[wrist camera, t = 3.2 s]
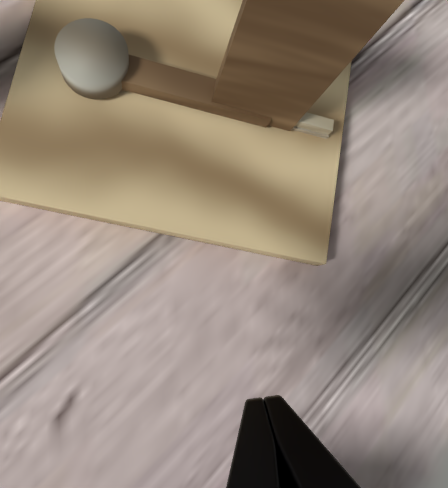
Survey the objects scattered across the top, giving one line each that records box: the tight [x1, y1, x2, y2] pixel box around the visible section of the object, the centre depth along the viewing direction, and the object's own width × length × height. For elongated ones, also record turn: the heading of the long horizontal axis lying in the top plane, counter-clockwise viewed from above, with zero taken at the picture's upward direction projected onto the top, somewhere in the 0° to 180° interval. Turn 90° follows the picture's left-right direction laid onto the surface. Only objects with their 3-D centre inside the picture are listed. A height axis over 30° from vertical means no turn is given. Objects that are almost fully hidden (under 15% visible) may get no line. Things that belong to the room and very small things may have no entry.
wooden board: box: [0, 0, 351, 266], centre depth 24 cm, size 20×19×2 cm
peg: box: [54, 0, 404, 135], centre depth 17 cm, size 4×16×11 cm, turn 80°
